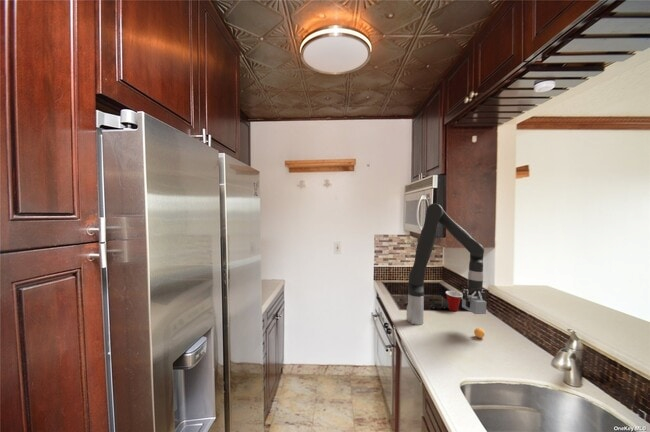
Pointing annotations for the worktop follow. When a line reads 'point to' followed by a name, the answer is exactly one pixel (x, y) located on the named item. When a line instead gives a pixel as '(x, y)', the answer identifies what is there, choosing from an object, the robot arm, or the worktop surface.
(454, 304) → the plastic cup
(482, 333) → the ball
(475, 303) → the grey rectangular brick
